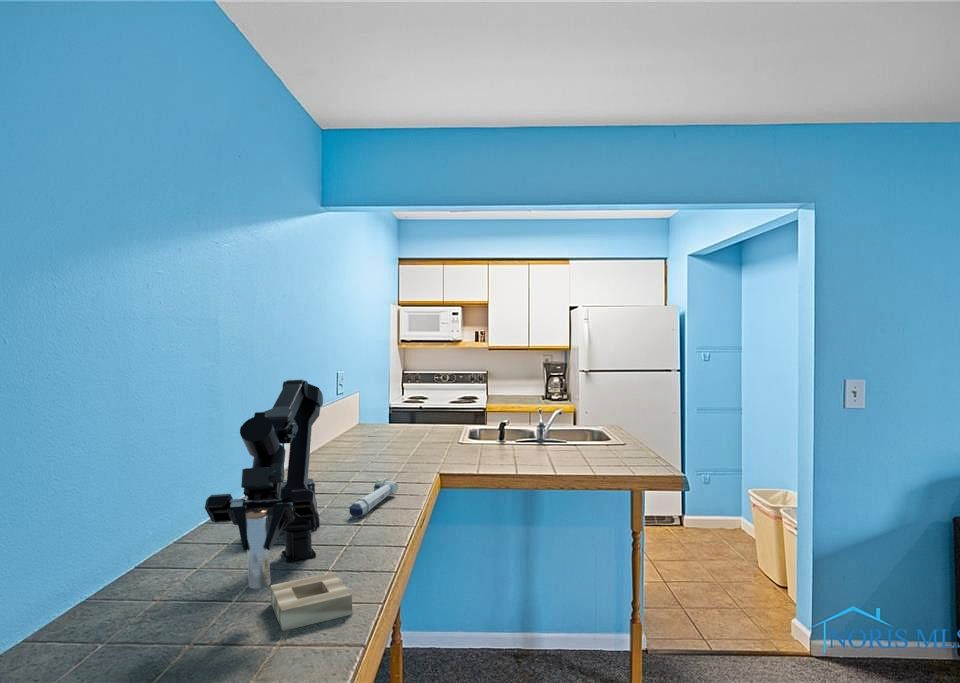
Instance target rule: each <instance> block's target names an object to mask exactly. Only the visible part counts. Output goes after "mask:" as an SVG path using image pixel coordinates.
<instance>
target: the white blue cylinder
mask: <svg viewBox="0 0 960 683" xmlns="http://www.w3.org/2000/svg"><path fill="white" fill-rule="evenodd" d="M398 490H399V484H398V483H397V482H396V481H392V480H390V478H388V477H385V478H379V479H376V483H374V487H373V491H372V492H370V493H369V494H367V495H365V496H363V497H362V498H358V499H356V501H355V502H354V503H352V504H351V506H349V508H348V509H349V515H351V517H352V518H355V519H356V518H357V519H358V518H360V517H362V516H366V515H367V514H368V513H369V512H370V510H372V509H373V508H374V507H376V506H377V505H378V504H380V502H381V501H383V500H384V499H385V498H387V497H388V496H389V495H395V494H397V493H398V492H397V491H398Z"/></svg>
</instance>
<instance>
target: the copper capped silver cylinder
mask: <svg viewBox="0 0 960 683" xmlns="http://www.w3.org/2000/svg"><path fill="white" fill-rule="evenodd" d="M246 532H247V552H246V553H247V569H248V574H247V575H248V587H249V588H250V589H253V590H255V589H256V590H257V589H262V588H266V587H268V586H270V585H271V561H270V550H267V539H268V513H267V509H266V508H255V509H251V510H248V511H246Z"/></svg>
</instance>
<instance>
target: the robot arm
mask: <svg viewBox="0 0 960 683" xmlns="http://www.w3.org/2000/svg"><path fill="white" fill-rule="evenodd" d="M323 396H324V395H323V392H322V391H321V389H320V387H318V386H316V385H313V384H310V383H309V382H308V381H307V380H304V379H288V380H287V379H286V381H283V383H282V389H281V391H280V394H278V397H277V399H276V400H275V402H274V404H273V406H272V408H270V409H268V410H265V411H260V412H259V411H258V412H254V415H253V416H252V417H251V418H248V419H247V420H246V421H244V422H243V424H242V425H241V426H240V428H239V434H240V438H241V439H242V441H243V443H244V445H245V448H246V449H247V452H248V454H249V456H251V457H253V460H252V467H251V468H250V467H247V468H242V469H241V470H242V473H241V485H240V486H241V488H242V489H243V495H244V497H247V498H246V499H244V498H233V496H232V494H231V493H222V494H221V493H220V494H210V496H208V498H206V500H205V504H204V510H205V511H206V514H207V515H208V517H209V519H210V521H211V522H212V523H218V524H219V523H228V522H229V523H230V522H232V524H233V525H235V526H238V531H239V535H240V536H239V537H240V541H241V542H240V543H241V547H242V550H243V552H244V553H247V532H246V511H248V510H251V509H255V508H266V509H267V510H273V514H272V521H271V525H270V530H269V534H268V539H267V550H269V551H270V550H271V549H272V548H273V546H274V545H275V542H276V540H277V539H278V537H279V534H280V533H281V531H285V535H284V548H285V550H282V551H281V555H282V556H283V558H284V560H285V562H287V563H288V562H294V561H300V560H305V559H310V558H314V557H317V553H316V552H315V550H314V549H313V546H312V545H313V544H312V531H316V530H315V528H318V529H319V528H320V527H321V524H320V523H321V522H320V516H319V512H318V502H317V498H316V493H315V494H314V491H313V490H312V489H308V487H307V482H308V479H309V478H308V477H309V466H310V453H311V442H312V440H311V439H312V438H311V437H312V427H313V425H314V423H315V422H316V421H317V420H318V418H319V417H320V415H321V414H320V412H321V407H323V403H324V397H323ZM283 444H289V451H288V453H289V454H288V465H287V472H286V473H287V475H286V476H287V477H286V481H287V483H286V485H285V486H284V487H283V489H281V488H282V482H285V462H286V460H285V458H286V449H285V447H284V446H283ZM311 530H312V531H311Z"/></svg>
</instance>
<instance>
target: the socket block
mask: <svg viewBox="0 0 960 683" xmlns="http://www.w3.org/2000/svg"><path fill="white" fill-rule="evenodd" d="M269 586H270V604H271V607H272V610H273V612H274V615H275V617H276V619H277V622H278V624H279V626H280V628H281V631H282V632H286V631H290V630H292V629H299V628H302V627H305V626H309V625H313V624H318V623H323V622H325V621H330V620H334V619H339V618H343V617H348V616H351V615H353V596H352V593H351V591H350V590H349V589H348V588H347V586H346V585H345V584H344V583H343V581H342V580H341V578H340V577H339V576H338V574H337V573H336V572H335V571H333V572H328V573H322V574H319V575H318V574H317V575H314V576H309V577H303V578H300V579H296V580H290V581H284V582H280V583H277V584H275V583H274V584H272V585H271V584H270V585H269Z"/></svg>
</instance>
